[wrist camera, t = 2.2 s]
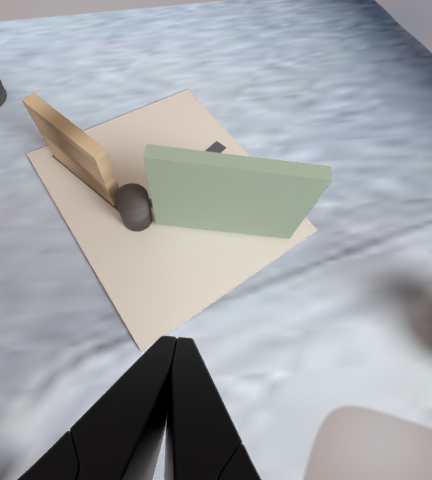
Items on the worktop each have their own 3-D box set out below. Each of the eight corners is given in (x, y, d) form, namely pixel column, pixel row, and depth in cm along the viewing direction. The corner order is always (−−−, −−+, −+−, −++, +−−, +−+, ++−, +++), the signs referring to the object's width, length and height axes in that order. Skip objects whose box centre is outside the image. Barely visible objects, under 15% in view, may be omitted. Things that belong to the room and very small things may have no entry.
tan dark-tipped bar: (158, 217, 25) (151, 171, 19) (137, 237, 24) (123, 194, 18) (70, 146, 27) (42, 88, 22) (48, 162, 26) (12, 104, 21)
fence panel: (156, 224, 24) (143, 157, 17) (158, 213, 25) (146, 143, 17) (289, 238, 25) (332, 180, 17) (289, 228, 25) (331, 166, 18)
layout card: (141, 351, 20) (141, 351, 20) (27, 156, 26) (26, 153, 26) (315, 231, 26) (317, 229, 26) (188, 91, 32) (188, 88, 32)
